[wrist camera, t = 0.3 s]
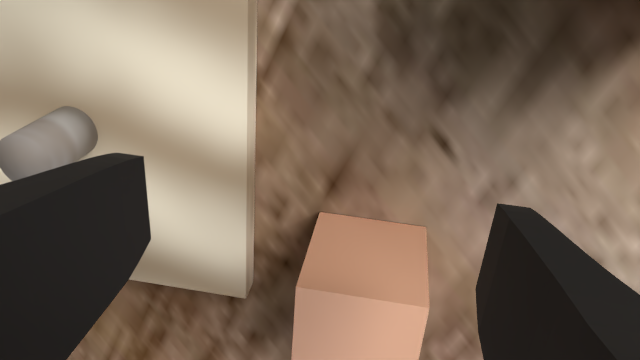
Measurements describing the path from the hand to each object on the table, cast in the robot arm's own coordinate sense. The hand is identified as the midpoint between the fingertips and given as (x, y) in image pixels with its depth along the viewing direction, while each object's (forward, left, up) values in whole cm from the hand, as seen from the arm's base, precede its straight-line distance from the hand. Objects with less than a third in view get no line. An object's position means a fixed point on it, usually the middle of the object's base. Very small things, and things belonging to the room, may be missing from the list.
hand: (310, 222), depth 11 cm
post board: (-3, +11, -10) cm, 15 cm away
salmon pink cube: (-8, -1, -10) cm, 12 cm away
